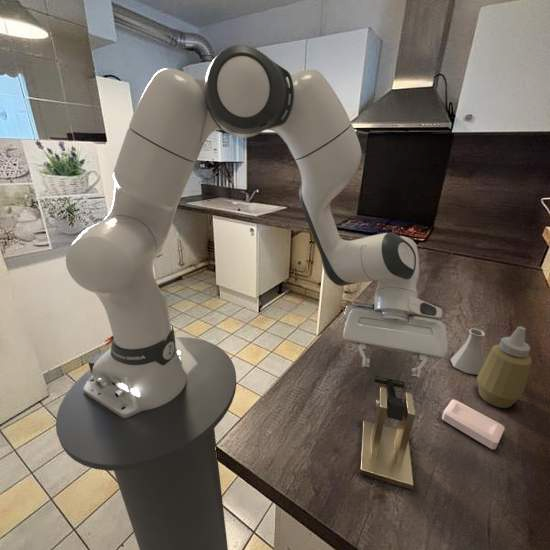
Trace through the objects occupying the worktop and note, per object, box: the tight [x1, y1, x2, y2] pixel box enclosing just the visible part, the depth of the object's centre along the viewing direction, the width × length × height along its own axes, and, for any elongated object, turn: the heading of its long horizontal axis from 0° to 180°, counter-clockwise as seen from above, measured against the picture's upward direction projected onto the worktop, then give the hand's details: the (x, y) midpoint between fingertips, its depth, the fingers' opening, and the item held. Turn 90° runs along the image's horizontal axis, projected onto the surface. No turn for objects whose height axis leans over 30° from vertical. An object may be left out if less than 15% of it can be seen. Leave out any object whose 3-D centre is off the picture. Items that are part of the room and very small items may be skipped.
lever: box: [373, 375, 406, 422], centre depth 52 cm, size 13×6×2 cm, turn 161°
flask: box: [449, 327, 486, 376], centre depth 71 cm, size 7×7×10 cm
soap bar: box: [441, 398, 506, 450], centre depth 56 cm, size 5×9×2 cm, turn 42°
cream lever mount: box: [359, 386, 417, 490], centre depth 49 cm, size 10×8×13 cm
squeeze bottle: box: [476, 325, 533, 409], centre depth 60 cm, size 8×8×18 cm
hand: (389, 372), depth 59 cm, fingers open, 8 cm apart
